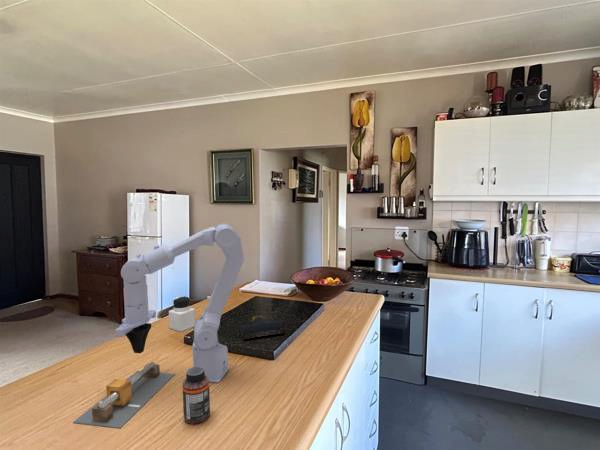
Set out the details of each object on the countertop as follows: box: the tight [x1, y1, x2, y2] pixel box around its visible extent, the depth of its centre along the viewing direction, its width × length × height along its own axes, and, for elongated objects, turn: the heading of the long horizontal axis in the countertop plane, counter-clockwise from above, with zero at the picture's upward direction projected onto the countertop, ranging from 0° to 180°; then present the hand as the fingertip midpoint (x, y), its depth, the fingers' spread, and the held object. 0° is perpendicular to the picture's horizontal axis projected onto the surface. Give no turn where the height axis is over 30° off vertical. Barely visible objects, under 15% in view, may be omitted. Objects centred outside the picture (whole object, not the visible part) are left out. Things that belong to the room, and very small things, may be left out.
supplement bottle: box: [182, 366, 211, 425], centre depth 78 cm, size 6×6×11 cm
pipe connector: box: [240, 315, 285, 334], centre depth 127 cm, size 12×5×15 cm
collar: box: [105, 379, 132, 406], centre depth 82 cm, size 4×3×5 cm
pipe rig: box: [72, 361, 176, 429], centre depth 86 cm, size 12×23×4 cm, turn 171°
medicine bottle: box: [168, 295, 196, 333], centre depth 132 cm, size 7×7×12 cm
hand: (138, 351), depth 91 cm, fingers closed
